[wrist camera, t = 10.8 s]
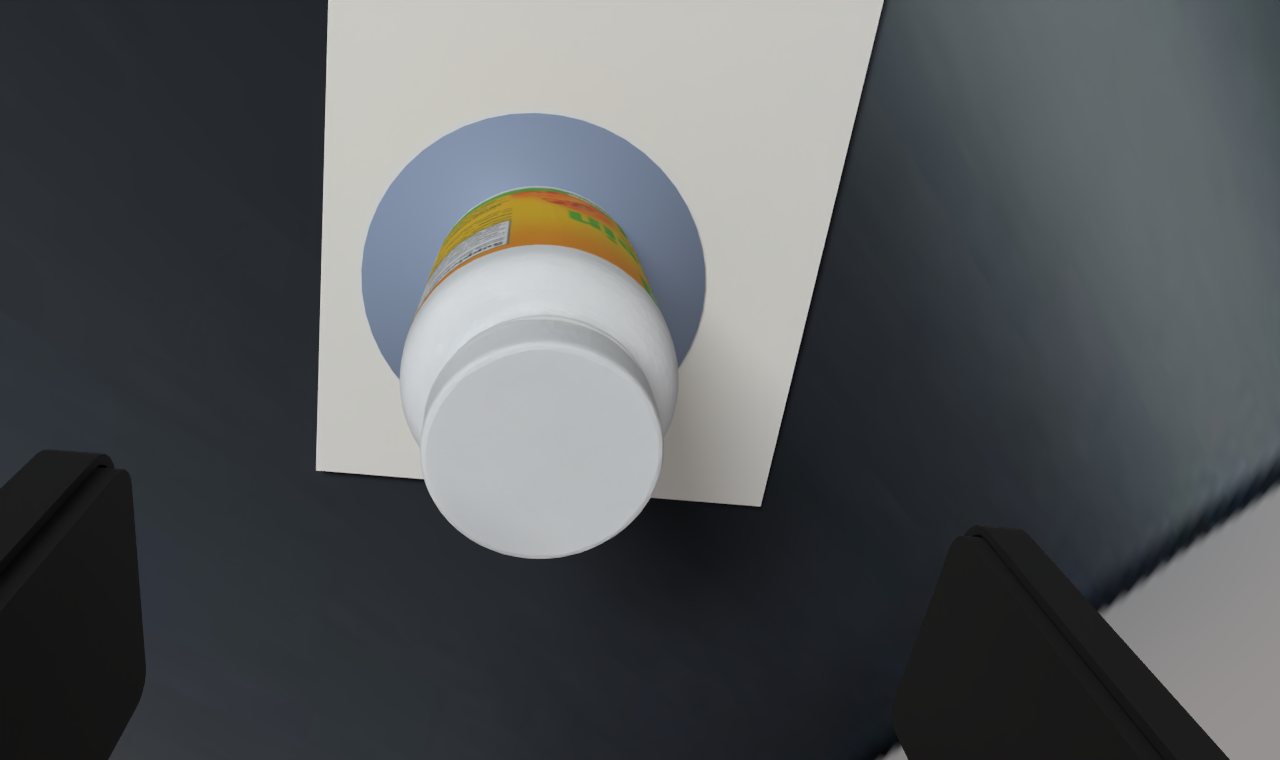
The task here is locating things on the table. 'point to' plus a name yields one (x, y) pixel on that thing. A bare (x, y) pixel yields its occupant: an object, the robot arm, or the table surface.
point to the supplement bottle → (539, 376)
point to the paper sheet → (591, 190)
